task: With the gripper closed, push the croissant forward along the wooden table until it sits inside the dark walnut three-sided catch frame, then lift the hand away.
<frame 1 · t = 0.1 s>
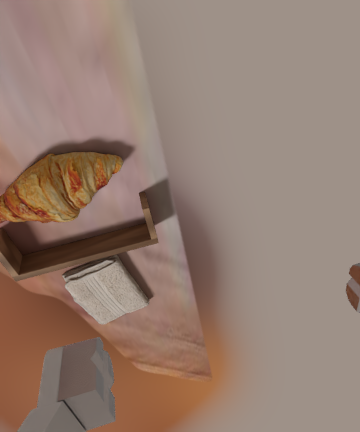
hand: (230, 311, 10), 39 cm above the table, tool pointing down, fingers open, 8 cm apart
catch frame: (79, 225, 55), on the table
croissant: (58, 181, 50), on the table
washcloth: (108, 285, 67), on the table
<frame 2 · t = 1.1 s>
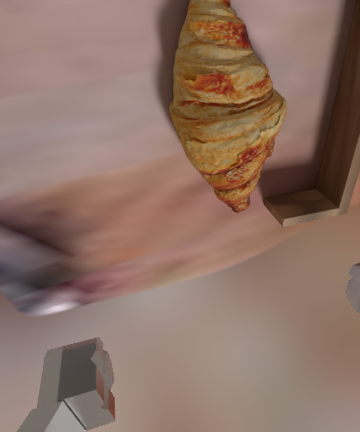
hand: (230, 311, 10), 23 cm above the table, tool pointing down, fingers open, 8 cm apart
catch frame: (308, 97, 32), on the table
croissant: (220, 107, 31), on the table
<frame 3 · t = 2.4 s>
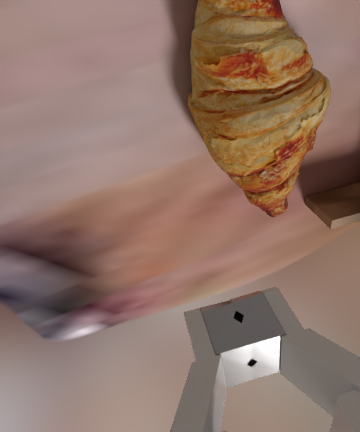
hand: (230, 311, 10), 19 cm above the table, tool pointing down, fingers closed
catch frame: (354, 73, 27), on the table
croissant: (247, 96, 27), on the table
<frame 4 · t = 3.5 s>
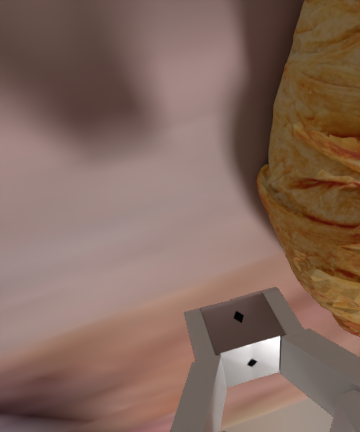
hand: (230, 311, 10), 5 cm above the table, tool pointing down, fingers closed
croissant: (353, 163, 15), on the table
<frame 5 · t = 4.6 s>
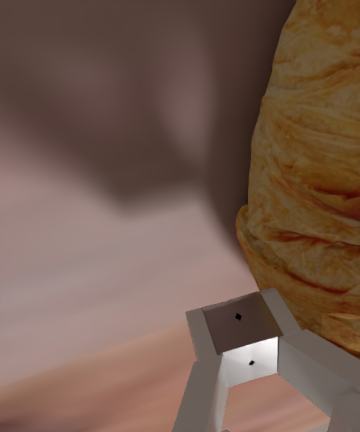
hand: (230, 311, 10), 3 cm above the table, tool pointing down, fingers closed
croissant: (347, 200, 13), on the table, touching gripper
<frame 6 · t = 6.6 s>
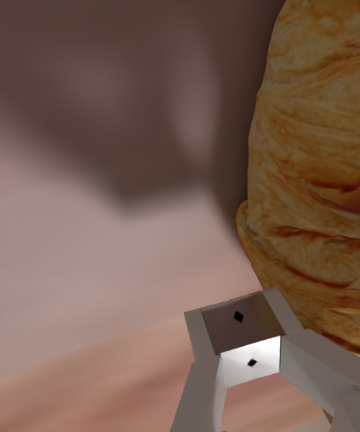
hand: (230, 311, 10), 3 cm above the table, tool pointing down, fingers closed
croissant: (350, 192, 13), on the table
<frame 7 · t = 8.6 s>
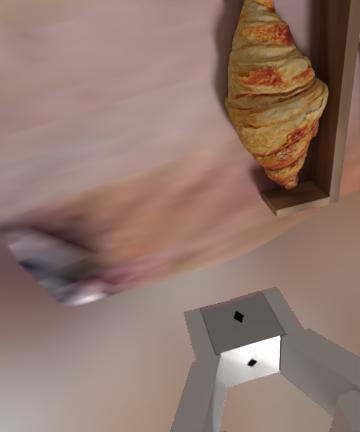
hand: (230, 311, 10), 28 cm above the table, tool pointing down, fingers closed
catch frame: (289, 99, 36), on the table
croissant: (267, 98, 36), on the table
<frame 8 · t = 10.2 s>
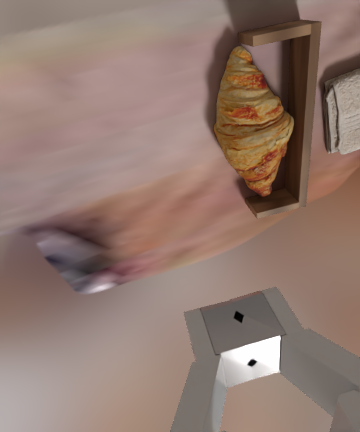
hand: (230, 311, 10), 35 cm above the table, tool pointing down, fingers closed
catch frame: (266, 125, 46), on the table
croissant: (247, 124, 45), on the table
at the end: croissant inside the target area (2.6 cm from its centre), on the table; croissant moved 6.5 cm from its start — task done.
